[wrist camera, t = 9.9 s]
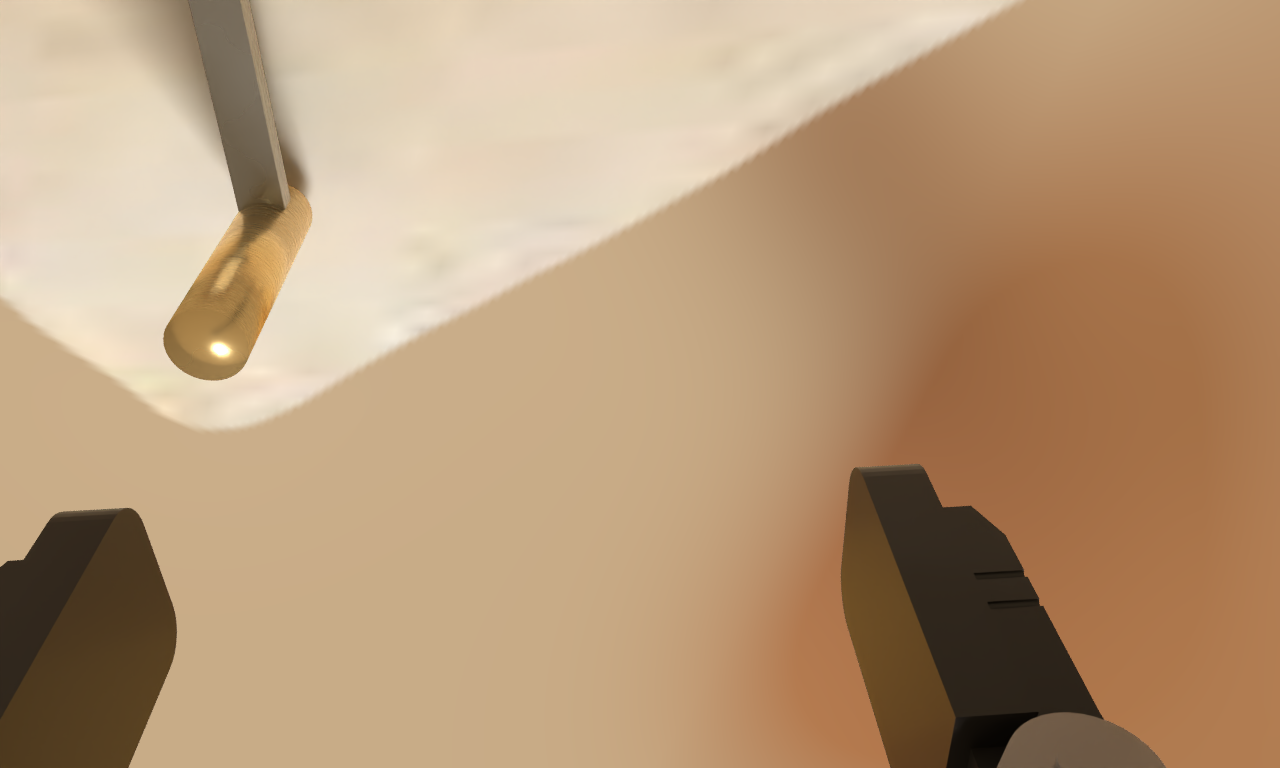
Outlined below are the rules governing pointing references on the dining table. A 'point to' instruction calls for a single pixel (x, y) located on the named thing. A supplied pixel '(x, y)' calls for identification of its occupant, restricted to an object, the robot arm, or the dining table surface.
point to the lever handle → (239, 205)
